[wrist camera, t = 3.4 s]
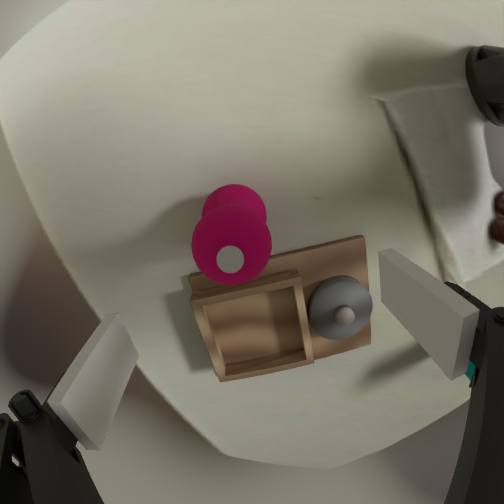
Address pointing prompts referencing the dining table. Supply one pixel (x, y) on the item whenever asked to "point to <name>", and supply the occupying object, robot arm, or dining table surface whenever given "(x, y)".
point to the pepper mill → (232, 236)
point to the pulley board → (287, 311)
